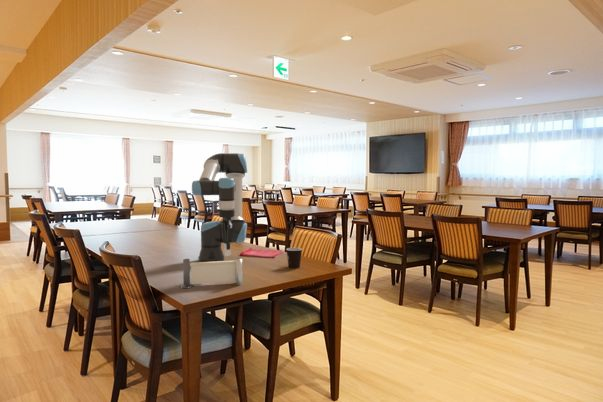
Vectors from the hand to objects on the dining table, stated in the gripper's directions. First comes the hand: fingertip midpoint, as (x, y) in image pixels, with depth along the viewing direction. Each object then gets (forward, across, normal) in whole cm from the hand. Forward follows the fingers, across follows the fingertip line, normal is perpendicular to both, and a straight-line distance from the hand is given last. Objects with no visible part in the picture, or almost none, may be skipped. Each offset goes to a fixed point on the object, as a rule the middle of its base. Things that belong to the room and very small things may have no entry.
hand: (227, 255), depth 199 cm
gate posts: (+10, +12, -12) cm, 20 cm away
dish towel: (+14, -40, +37) cm, 56 cm away
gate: (+9, +12, -12) cm, 19 cm away
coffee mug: (+12, -1, +39) cm, 41 cm away
